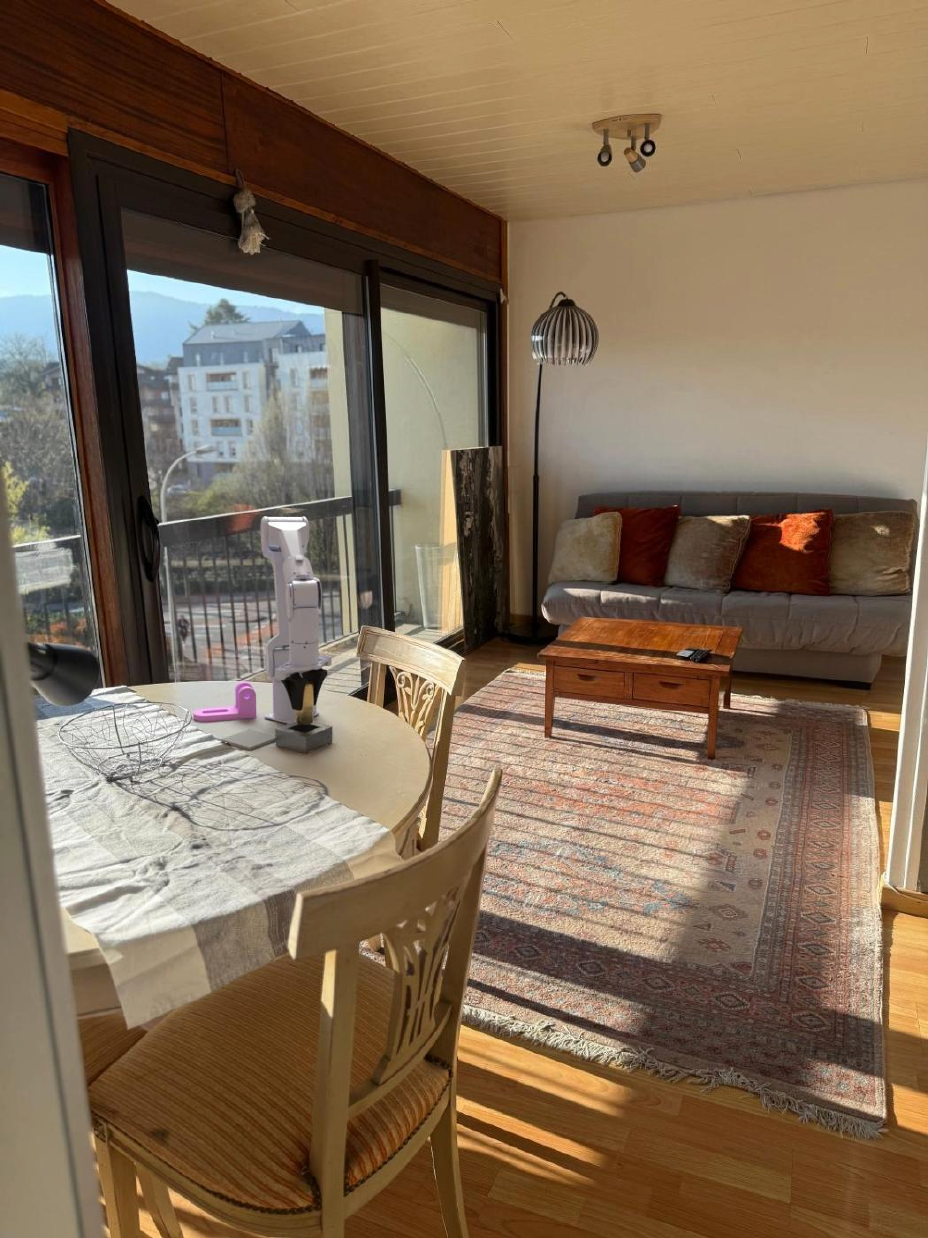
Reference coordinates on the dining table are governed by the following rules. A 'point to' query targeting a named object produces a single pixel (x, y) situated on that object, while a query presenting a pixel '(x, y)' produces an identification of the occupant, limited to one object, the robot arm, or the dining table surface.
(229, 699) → the dining table surface
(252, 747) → the mat
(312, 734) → the block
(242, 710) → the bracket
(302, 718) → the key peg
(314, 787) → the dining table surface
